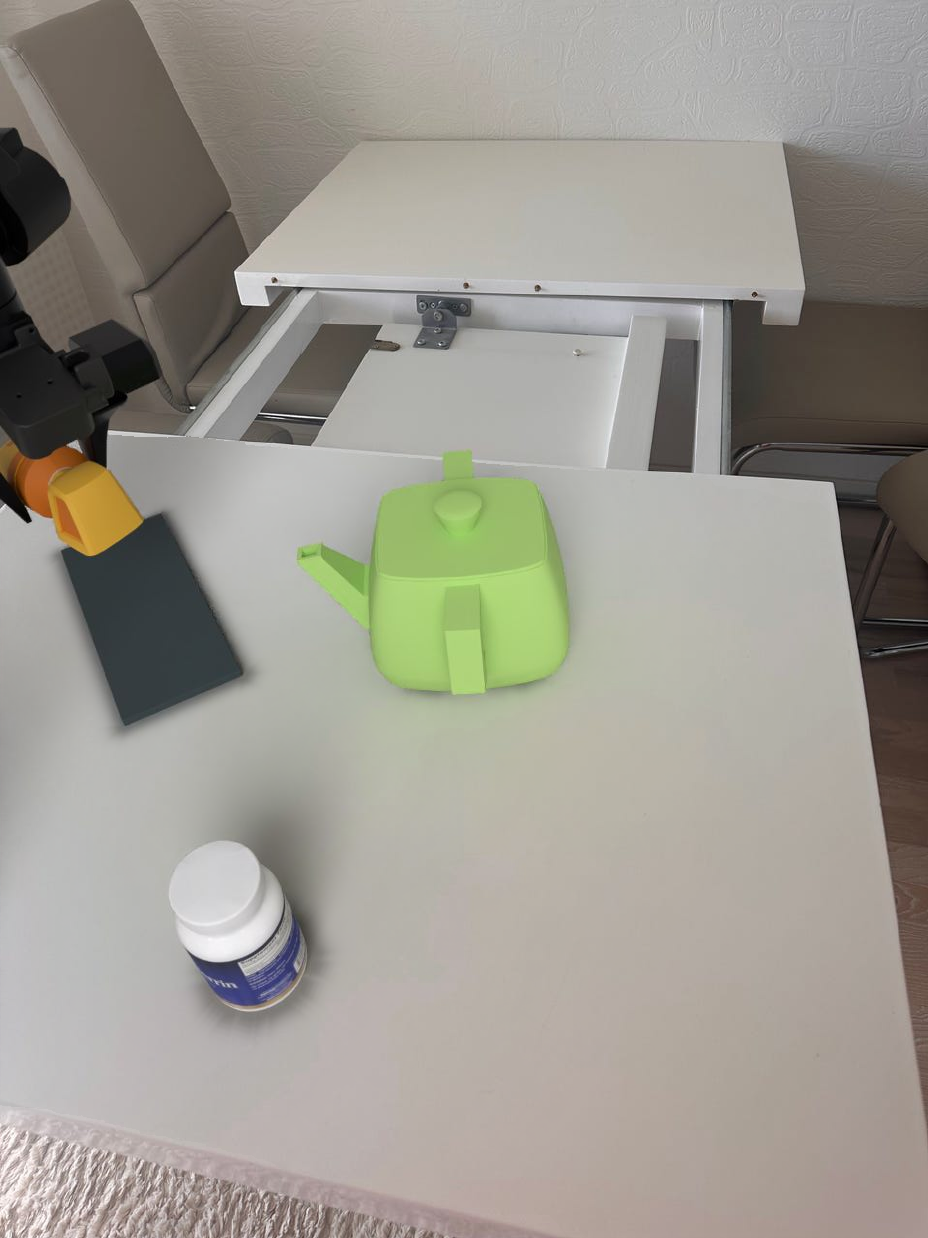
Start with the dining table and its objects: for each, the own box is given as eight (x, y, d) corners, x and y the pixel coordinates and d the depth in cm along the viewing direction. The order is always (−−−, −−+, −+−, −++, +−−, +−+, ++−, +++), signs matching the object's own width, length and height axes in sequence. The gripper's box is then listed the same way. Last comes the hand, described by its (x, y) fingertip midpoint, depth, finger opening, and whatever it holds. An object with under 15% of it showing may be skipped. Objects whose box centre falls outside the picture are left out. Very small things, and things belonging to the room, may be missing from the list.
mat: (124, 726, 68) (122, 721, 68) (62, 555, 82) (60, 550, 82) (242, 675, 71) (240, 670, 70) (163, 517, 85) (161, 512, 84)
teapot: (313, 756, 65) (269, 624, 56) (333, 560, 79) (301, 428, 70) (582, 737, 64) (584, 600, 55) (555, 542, 78) (552, 407, 69)
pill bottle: (191, 970, 55) (134, 885, 48) (267, 900, 58) (225, 810, 50) (252, 1037, 52) (201, 956, 45) (329, 960, 55) (293, 873, 48)
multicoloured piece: (-5, 505, 72) (90, 560, 66) (-39, 444, 68) (59, 497, 62) (54, 468, 75) (150, 518, 69) (25, 408, 71) (124, 455, 65)
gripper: (-145, 414, 50) (-15, 622, 61) (165, 284, 58) (231, 488, 69) (-203, 345, 56) (-75, 544, 67) (84, 235, 64) (156, 430, 75)
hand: (65, 501), depth 69 cm, fingers closed on multicoloured piece, 5 cm apart
